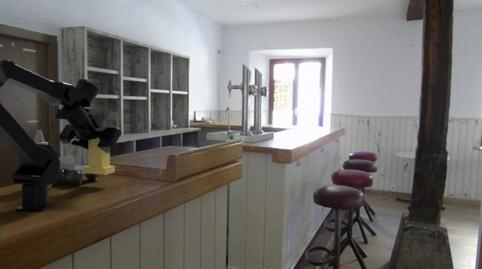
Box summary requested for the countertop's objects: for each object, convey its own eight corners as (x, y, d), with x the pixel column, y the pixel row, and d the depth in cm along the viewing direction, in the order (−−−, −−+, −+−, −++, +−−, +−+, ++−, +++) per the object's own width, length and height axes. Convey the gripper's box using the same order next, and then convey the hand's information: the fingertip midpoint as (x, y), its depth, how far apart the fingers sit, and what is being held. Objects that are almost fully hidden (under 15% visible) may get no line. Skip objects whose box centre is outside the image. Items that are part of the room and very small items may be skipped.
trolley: (80, 186, 111) (80, 161, 110) (51, 183, 113) (50, 159, 113) (99, 180, 120) (100, 157, 120) (72, 177, 123) (72, 155, 122)
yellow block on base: (105, 174, 109) (105, 135, 108) (83, 172, 111) (83, 133, 110) (114, 172, 114) (115, 134, 113) (93, 170, 116) (93, 132, 115)
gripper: (118, 100, 104) (137, 134, 116) (65, 98, 109) (88, 131, 120) (101, 128, 97) (123, 161, 109) (45, 125, 102) (72, 157, 113)
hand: (102, 151), depth 113 cm, fingers closed on yellow block on base, 5 cm apart
